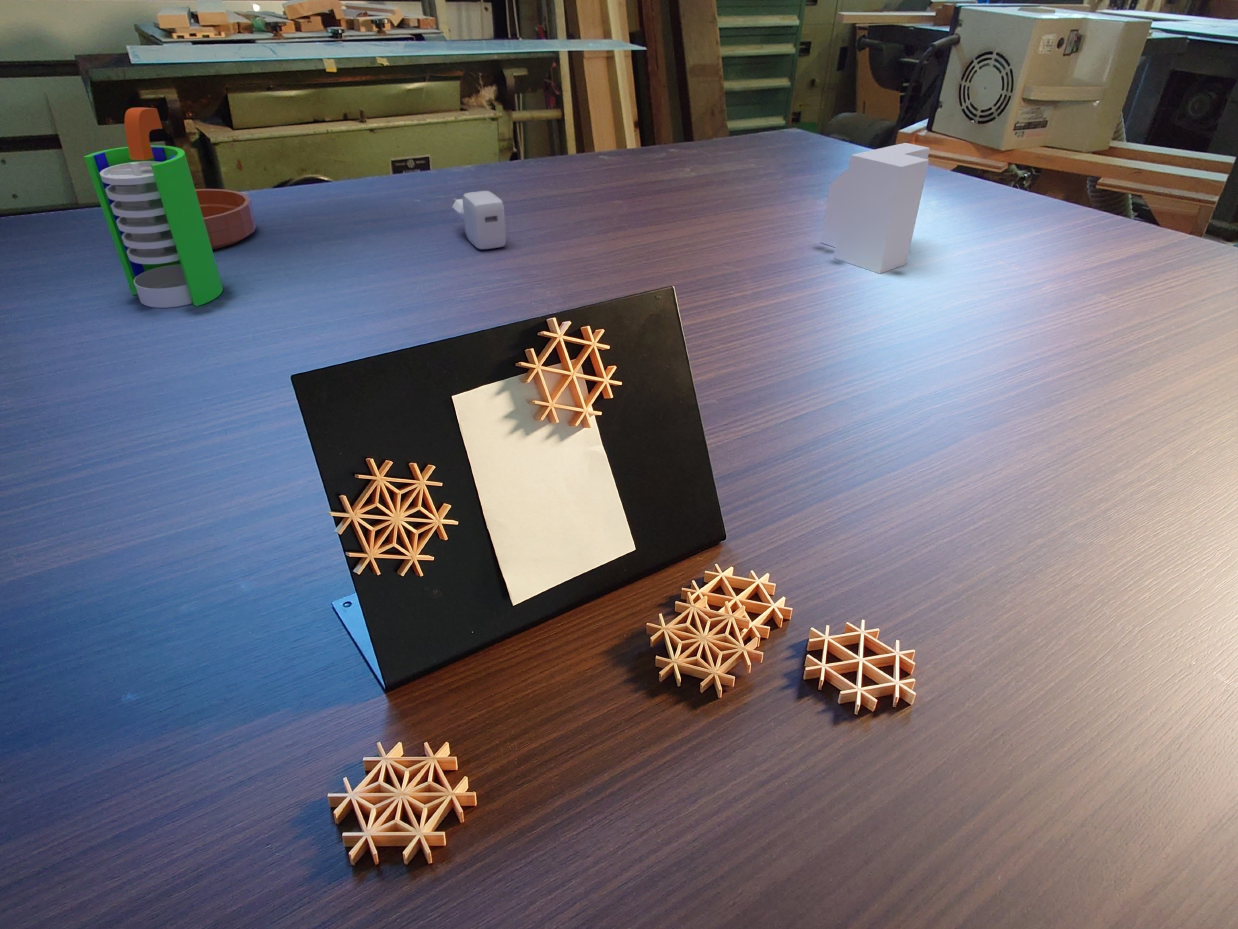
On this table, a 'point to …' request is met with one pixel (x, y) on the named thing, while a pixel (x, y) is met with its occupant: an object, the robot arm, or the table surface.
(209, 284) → the green-shelled ribbed roller
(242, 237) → the bowl
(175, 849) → the table surface
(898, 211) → the white notched block
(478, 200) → the power adapter
